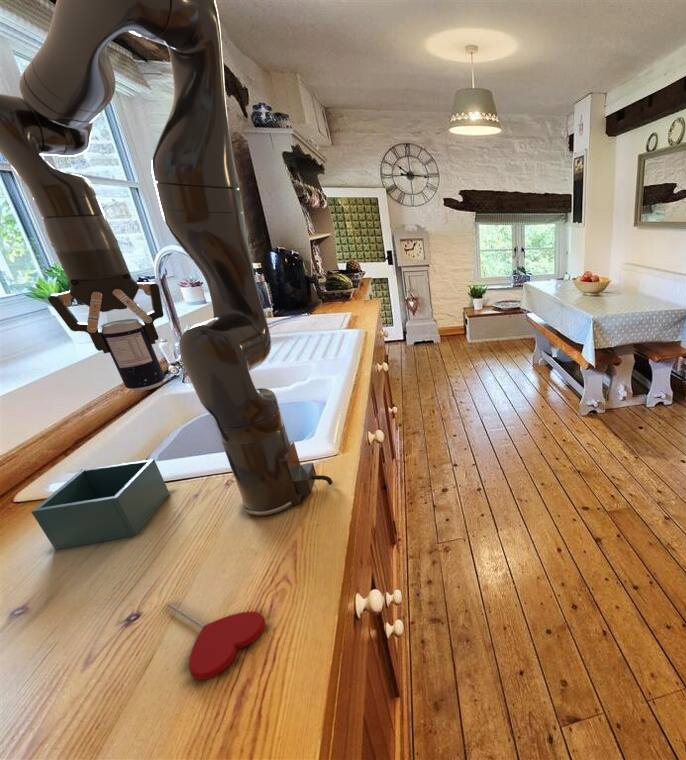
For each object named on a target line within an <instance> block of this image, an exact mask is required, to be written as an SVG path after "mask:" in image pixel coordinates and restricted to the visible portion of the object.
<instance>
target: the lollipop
mask: <svg viewBox="0 0 686 760" xmlns="http://www.w3.org/2000/svg"><path fill="white" fill-rule="evenodd" d="M166 606H167V607H169V608H170V609H171V610H173V611H174V612H176V613H178V614H180V615H181V616H182V617H184V618H186V619H187V620H189V621H191V622H192V623H193V624H195V625H197V627H199V628H201V630H200V632H199V633H198V635H197V638H196V640H195V641H194V644H193V645H192V649H191V652H190V655H189V659H188V670H189V673H190V675H191V676H192V677H193V678H195V679H198V680H208V679H211V678H214V677H215V676H217V675H219V674H221V673H222V672H223V671H225V670H226V669H227V668H228V667H229V666H230V665H231V664H232V663H233V661H234V659H235V657H236V655H237V651H238V649H243V648H246V647H247V646H249V645H251V644H253V643H254V642H256V640H258V638H259V637H260V636H261V635H262V633H263V631H264V629H265V626H266V619H265V617H264V615H263V614H262V613H261V612H257V611H243V612H242V611H241V612H238V613H234V614H230V615H227V616H224V617H221V618H219V619H217V620H213V621H212V622H208V623H206V624H204V623H202V622H201V621H199V620H198V619H196V618H194V617H193V616H191V615H190V614H188V613H186V612H185V611H183V610H182V609H180V608H179V607H177V606H176V605H174V604H172V603H171V602H168V603H167V604H166Z"/></svg>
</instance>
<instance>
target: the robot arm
mask: <svg viewBox="0 0 686 760" xmlns="http://www.w3.org/2000/svg"><path fill="white" fill-rule="evenodd" d="M47 32H48V33H47V35H46V37H45V40H44V42H42V45H41V46H40V48H39V49H38V51H37V52H36V54H35V55H34V56H33V58H32V59H31V60H30V62H29V63H28V65H27V66H26V67H25V69H24V71H23V72H22V74H21V76H20V78H19V82H18V89H19V92H20V94H21V96H17V95H16V96H15V95H10V94H2V93H0V154H1V155H2V157H4V159H5V160H6V161H7V162H8V164H9V165H10V166H11V168H12V169H13V170H14V171H15V173H16V174H17V176H18V177H19V178H20V179H21V181H22V182H23V184H24V185H25V186H26V188H27V189H28V191H29V193H30V195H31V197H32V200H33V202H34V204H35V206H36V208H37V211H38V212H39V215H40V216H41V220H42V222H43V225H44V228H45V232H46V235H47V237H48V239H49V242H50V244H51V246H52V248H53V250H54V252H55V254H56V256H57V259H58V261H59V263H60V265H61V268H62V270H63V271H64V274H65V276H66V279H67V280H68V282H69V291H65V292H61V293H51V294H49V296H48V298H47V301H48V302H49V303H50V305H51V307H53V309H54V310H55V312H56V313H57V314H58V315H59V316H60V318H61V320H63V321H64V323H65V325H66V326H67V327H68V329H69V330H70V331H71V332H84V333H86V334H88V335H89V337H90V339H91V342H92V343H93V346H94V347H95V349H96V350H97V351H98V352H101V351H102V352H103V354H110V352H109V350H108V347H107V345H106V343H105V341H104V339H103V337H102V334H101V332H102V330H101V329H99V328H98V326H99V320H100V314H101V313H107V312H111V311H113V310H120V311H121V310H127V309H128V310H130V311H131V312H132V313H134V314H135V315H136V316H137V317H138V318H139V319H140V320H141V321H142V323H141V324H142V325H143V326H144V328H145V331H146V333H147V335H148V338H149V340H150V343H151V344H152V345H156V344H157V342H156V341H159V334H158V332H157V329H156V327H155V324H154V323H155V321H156V320H158V319H160V318H163V317H164V315H165V314H164V309H163V303H162V297H161V291H160V286H159V285H158V283H157V282H154V281H150V282H137V281H136V280H135V279H134V278H133V277H132V275H131V272H130V270H129V268H128V265H127V262H126V260H125V258H124V255H123V252H122V250H121V247H120V245H119V241H118V239H117V238H116V235H115V233H114V230H113V228H112V227H111V225H110V224H109V221H108V219H107V218H106V216H105V213H104V210H103V208H102V206H101V203H100V200H99V199H98V195H97V193H96V191H95V189H94V186H93V184H92V183H91V181H90V180H89V179H88V178H87V177H84V176H82V175H79V174H76V173H71V172H67V171H62V170H59V169H57V168H55V167H53V166H52V165H51V164H50V163H49V162H48V161H47V160H46V159H45V157H44V156H54V157H55V156H58V157H77V156H79V155H82V154H84V153H85V152H87V151H88V150H89V148H90V146H91V145H90V143H91V136H92V132H93V131H92V130H93V125H94V121H95V120H96V119H97V117H98V116H99V115H100V114H101V113H102V112H103V111H104V109H106V108H107V106H109V104H110V103H111V102H112V100H113V98H114V96H115V92H116V84H117V83H116V76H115V71H114V68H113V65H112V63H111V60H110V57H109V54H108V50H107V47H108V45H109V43H110V42H112V41H113V40H114V39H115V38H117V37H118V36H119V35H121V34H123V33H126V32H129V33H130V34H132V35H135V36H138V37H141V38H143V39H145V40H149V41H151V42H154V43H158V44H161V45H164V46H166V47H167V50H168V54H169V59H170V64H171V72H172V79H173V80H172V81H173V101H172V106H171V109H170V112H169V114H168V117H167V120H166V122H165V124H164V126H163V128H162V130H161V133H160V135H159V137H158V139H157V142H156V144H155V148H154V150H153V154H152V158H151V174H152V178H153V182H154V187H155V191H156V195H157V199H158V203H159V207H160V211H161V215H162V217H163V220H164V223H165V225H166V227H167V229H168V230H169V232H170V234H171V235H172V236H173V238H174V239H175V241H176V242H177V244H178V245H179V246H180V247H181V248H182V250H183V251H184V253H185V254H186V255H187V256H188V257H189V258H190V260H191V261H192V262H193V263H194V265H195V266H196V268H197V269H198V271H200V273H201V276H203V279H204V280H205V281H204V282H205V283H206V286H207V289H208V292H209V296H210V300H211V305H212V306H211V307H212V312H213V313H212V314H213V318H211V319H208V320H206V321H203V322H201V323H197V324H194V325H193V326H191V327H189V328H188V329H186V330H185V331H184V332H183V333H182V335H181V336H180V340H179V353H180V358H181V361H182V364H183V367H184V369H185V372H186V374H187V376H188V379H189V380H190V382H191V383H190V384H192V385H191V386H192V387H193V389H194V391H195V393H196V396H197V398H198V400H199V402H200V404H201V406H202V407H203V408H204V410H205V411H206V412H207V413H208V414H209V415H210V416H211V417H212V420H213V422H214V425H215V428H216V431H217V433H218V436H219V439H220V442H221V444H222V447H223V450H224V453H225V455H226V459H227V461H228V464H229V467H230V469H231V472H232V475H233V477H234V481H235V482H236V486H237V488H238V491H239V495H240V496H241V500H242V503H243V507H244V509H245V511H246V513H247V514H249V515H250V516H255V517H265V516H271V515H275V514H278V513H281V512H283V511H285V510H287V509H289V508H291V507H293V506H297V505H300V502H301V501H302V497H303V495H307V494H308V495H309V494H312V491H313V488H314V484H315V481H316V480H317V481H318V480H319V481H320V480H322V481H326V482H327V484H328V485H329V486H331V485H333V483H334V482H333V480H332V478H331V477H330V476H327V475H322V474H321V475H317V473H316V469H315V465H314V462H309V463H308V462H307V463H303V464H301V462H300V459H299V455H298V450H297V447H296V444H295V442H294V440H291V441H290V439H289V436H288V432H287V429H286V425H285V421H284V418H283V415H282V411H281V407H280V404H279V401H278V397H277V395H276V393H275V392H274V391H273V390H272V389H270V388H266V387H265V388H263V387H256V386H255V384H254V381H253V379H252V376H251V374H250V372H251V371H253V370H255V369H256V368H258V367H259V366H261V365H262V364H264V363H265V362H266V361H267V359H268V358H269V356H270V355H271V350H272V337H271V332H270V327H269V325H268V321H267V318H266V314H265V311H264V307H263V304H262V300H261V297H260V293H259V289H258V286H257V282H256V277H255V271H254V264H253V259H252V255H251V250H250V244H249V238H248V233H247V227H246V226H247V225H246V218H245V212H244V206H243V199H242V193H241V189H240V182H239V178H238V173H237V168H236V163H235V157H234V151H233V144H232V137H231V129H230V124H229V118H228V116H229V115H228V109H227V97H226V85H225V71H224V59H223V57H224V56H223V43H222V32H221V24H220V17H219V11H218V6H217V2H216V0H56V2H55V6H54V10H53V15H52V19H51V23H50V26H49V29H48V31H47ZM139 290H142V291H143V293H144V294H145V295H146V296H148V297H149V296H150V301H151V307H152V311H150V312H146V310H144V309H143V308H142V307H141V306H140V305H139V304H138V303H137V301H135V298H136V297H137V295H138V292H139ZM71 299H75V300H76V301H78V302H80V303H82V304H84V305H85V306H87V307H89V309H88V313H87V314H88V315H87V322H80V321H79V320H78V319H77V317H76V316H75V315H74V314H73V312H72V311H71V310H70V308H69V307H70V306H71V305H72V301H71ZM100 312H101V313H100Z"/></svg>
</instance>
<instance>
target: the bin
mask: <svg viewBox="0 0 686 760" xmlns="http://www.w3.org/2000/svg"><path fill="white" fill-rule="evenodd" d="M157 464H158V463H157V462H156V461H155V459H154V458H153V459H147V460H146V459H145V460H140V461H133V462H132V461H131V462H124V463H118V464H112V465H105V466H98V467H91V468H90V467H89V468H84V469H83V468H82V469H81V470H80V471H78V472H77V473H76V474H75V475H73V476H72V477H71V478H69V480H67V481H66V482H65V483H64V484H62V485H61V486H60V487H59V488H58V489H56V490H55V491H54V492H53V493H52V494H50V495H49V496H48V497H46V499H44V500H43V501H42V502H40V504H38V505H37V506H36V507H34V508H33V509H32V510H31V511H30V512H31V515H32V516H33V518H34V519H35V521H36V522H37V523H38V525H39V527H40V528H41V530H42V532H43V533H44V535H45V536H46V538H47V539H48V541H49V542H50V544H51V545H52V547H53V549H54V550H56V551H57V550H61V549H62V550H63V549H66V548H73V547H79V546H84V545H85V546H86V545H89V544H95V543H100V542H107V541H112V540H117V539H118V540H119V539H123V538H128V537H134V536H137V535H138V533H139V532H140V531H141V530H142V529H143V527H144V526H145V525H146V524H147V523H148V521H149V520H150V519H151V517H152V515H154V514H155V512H156V511H157V510H158V509H159V507H160V506H161V505H162V504H163V502H164V501H165V499H167V497H168V496H169V495H170V491H169V489H168V487H167V484H166V482H165V480H164V478H163V476H162V473H161V471H160V469H159V466H158V465H157Z"/></svg>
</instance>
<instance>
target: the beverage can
mask: <svg viewBox="0 0 686 760" xmlns="http://www.w3.org/2000/svg"><path fill="white" fill-rule="evenodd" d="M100 327H101V334H102V337H103V339H104V341H105V343H106V345H107V347H108V350H109V352H110V353H109V354H110V356H111V358H112V361H113V363H114V366H115V367H116V369H117V371H118V374H119V376H120V379H121V380H122V383H123V385H124V387H125V388H127V389H130V390H132V391H134V392H144V391H148V390H151V389H155V388H158V387H159V386H161V385H162V384H163V382H164V380H165V379H166V376H165V374H164V372H163V368H162V367H161V363H160V362H159V359H158V356H157V354H156V351H155V350H154V347H153V344H151V343H150V340H149V338H148V335H147V333H146V331H145V328H144V326H143V324H142V323H141V322H140V320H139V319H138V318H127V319H119V320H114V321H110V322H109V321H108V322H105V323H103V324H101V325H100Z"/></svg>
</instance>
